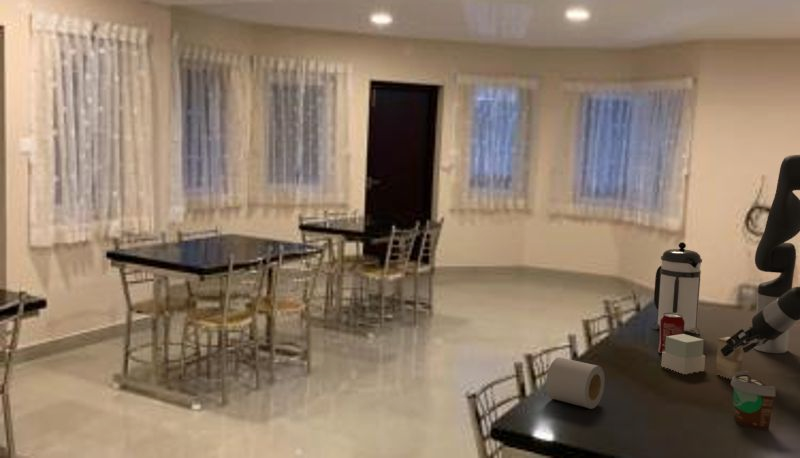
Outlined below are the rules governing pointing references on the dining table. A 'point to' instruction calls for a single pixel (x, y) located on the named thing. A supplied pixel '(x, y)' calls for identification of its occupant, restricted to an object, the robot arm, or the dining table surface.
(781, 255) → the robot arm
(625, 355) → the dining table surface
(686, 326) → the coffee press
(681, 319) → the soda can
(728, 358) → the beech pillar
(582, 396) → the toilet paper
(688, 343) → the tower top
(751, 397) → the food container
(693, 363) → the tower base
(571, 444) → the dining table surface
